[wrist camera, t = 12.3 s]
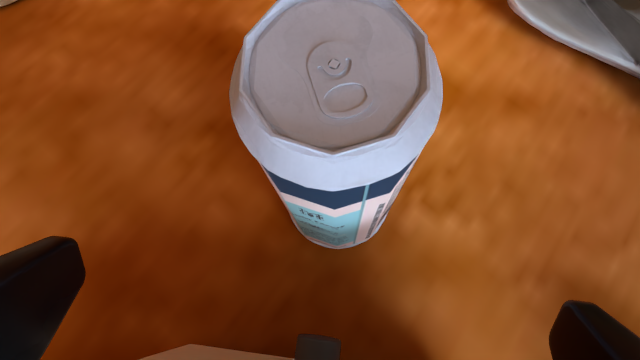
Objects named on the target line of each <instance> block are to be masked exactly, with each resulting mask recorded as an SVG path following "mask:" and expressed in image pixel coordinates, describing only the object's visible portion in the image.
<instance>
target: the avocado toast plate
mask: <svg viewBox="0 0 640 360" xmlns="http://www.w3.org/2000/svg"><path fill="white" fill-rule="evenodd" d="M507 2H508V5H509V7H510V8H511V9H512V10H513V12H515V13H516V14H517V15H519V16H520V17H521V18H522V19H524V20H525V21H526V22H527V23H528V24H530V25H531V26H533V27H535V28H536V29H538V30H540V31H541V32H542V33H544V34H545V35H547V36H549V37H551V38H552V39H554V40H556V41H558V42H561V43H563V44H565V45H567V46H569V47H571V48H573V49H576V50H578V51H581V52H583V53H585V54H588V55H590V56H592V57H594V58H596V59H599V60H601V61H603V62H605V63H607V64H609V65H612V66H614V67H616V68H618V69H621V70H623V71H624V72H626V73H628V74H630V75H632V76H634V77H636V78H638V79H640V0H507Z"/></svg>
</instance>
